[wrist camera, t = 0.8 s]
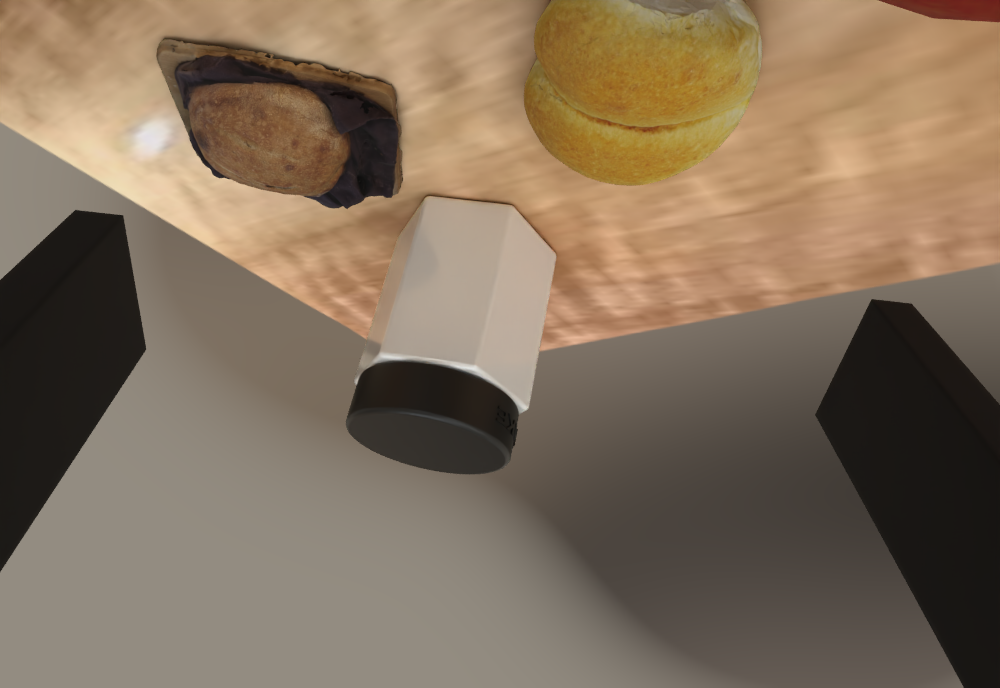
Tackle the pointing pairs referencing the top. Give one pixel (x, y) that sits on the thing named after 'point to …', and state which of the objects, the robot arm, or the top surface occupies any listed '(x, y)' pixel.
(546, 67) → the bread roll
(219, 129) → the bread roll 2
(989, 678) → the robot arm
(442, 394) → the jar
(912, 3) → the apple
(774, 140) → the top surface
